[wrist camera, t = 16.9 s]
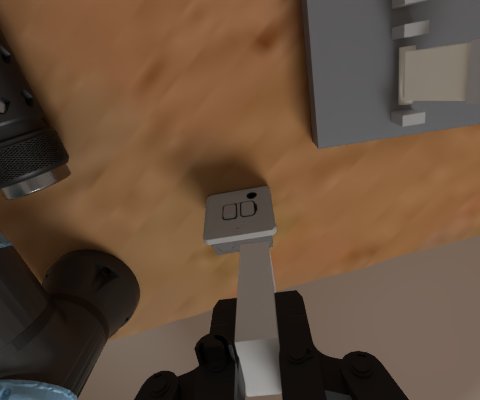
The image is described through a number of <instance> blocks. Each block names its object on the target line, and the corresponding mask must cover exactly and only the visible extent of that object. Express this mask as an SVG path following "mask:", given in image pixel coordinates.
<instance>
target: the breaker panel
mask: <svg viewBox="0 0 480 400" xmlns="http://www.w3.org/2000/svg"><path fill="white" fill-rule="evenodd" d="M301 7H302V19H303V31H304V42H305V54H306V66H307V78H308V90H309V102H310V114H311V126H312V137H313V143H314V144H315V145H316V146H317V148H318V149H321V148H327V147H334V146H340V145H347V144H353V143H360V142H366V141H373V140H379V139H386V138H392V137H398V136H405V135H411V134H418V133H424V132H431V131H437V130H444V129H450V128H457V127H463V126H470V125H476V124H480V104H466V101H414V103H413V104H409V105H398V94H399V48H401V47H406V46H412V45H416V50H418V49H425V48H432V47H439V46H446V45H453V44H460V43H467V42H471V40H476V39H480V0H301Z"/></svg>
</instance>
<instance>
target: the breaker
mask: <svg viewBox="0 0 480 400" xmlns="http://www.w3.org/2000/svg"><path fill="white" fill-rule="evenodd" d="M414 101H466V104H480V39H476V40H471V42H467V43H460V44H453V45H446V46H439V47H432V48H425V49H418V50H416V45H412V46H406V47H401V48H399V94H398V105H409V104H413V103H414Z"/></svg>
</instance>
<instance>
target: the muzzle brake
mask: <svg viewBox="0 0 480 400" xmlns="http://www.w3.org/2000/svg"><path fill="white" fill-rule="evenodd" d="M43 115H44V113H43V111H42V109H41V107H40V105H39V103H38V101H37V99H36V97H35V95H34V94H33V92H32V90H31V88H30V86H29V84H28V82H27V80H26V78H25V76H24V74H23V73H22V71H21V69H20V67H19V65H18V63H17V61H16V59H15V57H14V55H13V54H12V52H11V50H10V48H9V46H8V44H7V42H6V40H5V38H4V36H3V35H2V33H1V31H0V192H1V193H2V195H3V197H4V198H5V199H6V200H13V199H17V198H20V197H23V196H26V195H29V194H32V193H34V192H37V191H39V190H42V189H44V188H47V187H49V186H51V185H53V184H55V183H58V182H60V181H62V180H63V179H65V178H67V177H68V176H69V175H70V174H71V172H70V170H69V168H68V166H67V164H66V163H67V162H68V160H69V155H68V153H67V151H66V149H65V148H64V146H63V144H62V142H61V140H60V138H59V136H58V134H57V132H56V131H55V130H53V129H52V127H47V126H46V125H45V124H44V122H43V120H42V117H43Z"/></svg>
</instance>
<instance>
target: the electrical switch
mask: <svg viewBox="0 0 480 400" xmlns="http://www.w3.org/2000/svg"><path fill="white" fill-rule="evenodd" d="M276 232H277V228H276V224H275V219H274V213H273V207H272V200H271V191H270V188H269V187H268V186H262V187H256V188H250V189H244V190H239V191H233V192H227V193H221V194H216V195H211V196H209V197H208V198H207V201H206V212H205V223H204V235H203V239H204V242H205V244H206V245H211V244H212V247H213V248H214V249H215V252H216V254H217V255H221V254H227V253H234V252H240V245H244V244H252V243H259V242H267V241H268V242H269V247H273V245H272V243H273V239H272V235H274V234H275V233H276ZM251 238H252V239H251ZM249 241H250V242H249ZM235 243H236V244H235ZM233 246H234V247H233Z"/></svg>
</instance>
